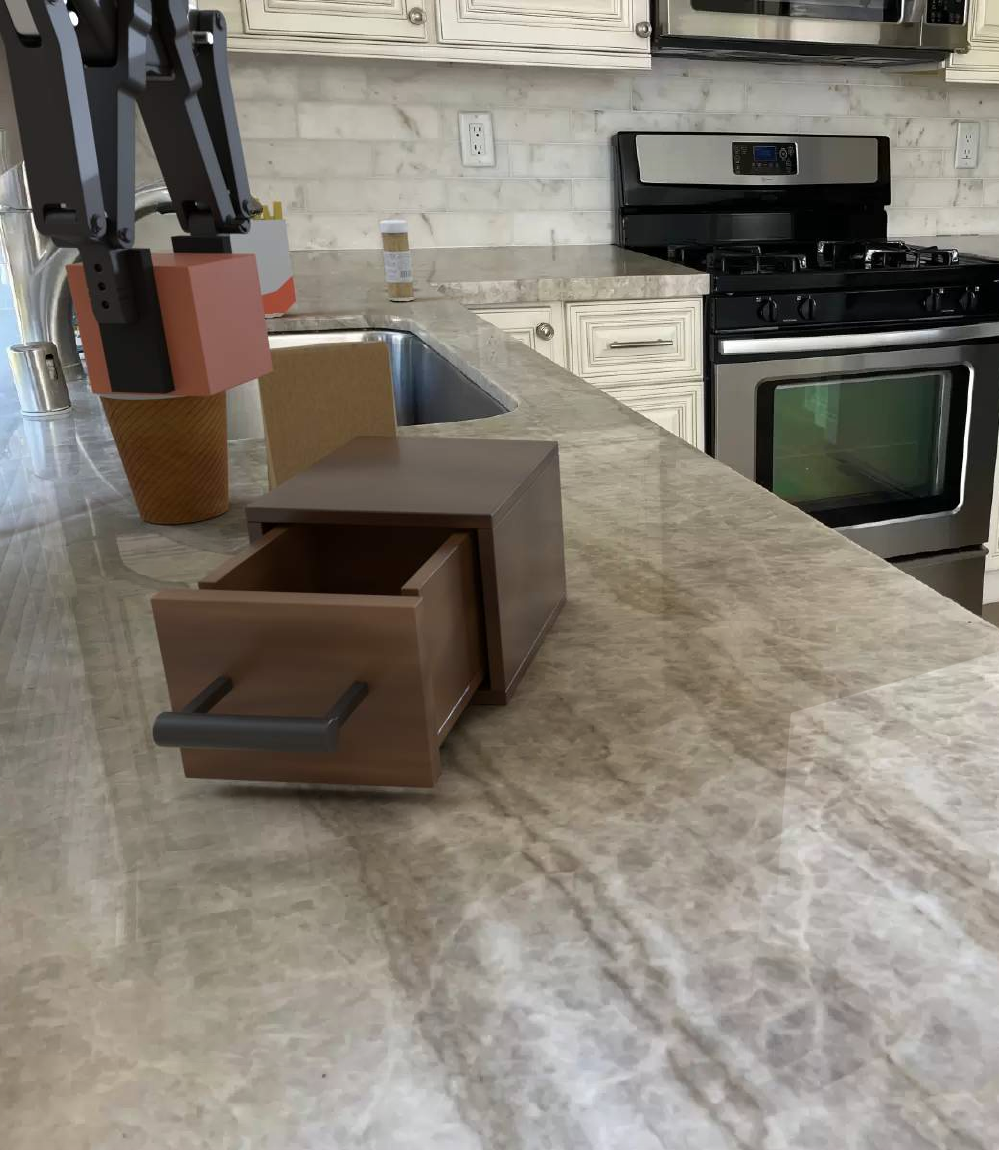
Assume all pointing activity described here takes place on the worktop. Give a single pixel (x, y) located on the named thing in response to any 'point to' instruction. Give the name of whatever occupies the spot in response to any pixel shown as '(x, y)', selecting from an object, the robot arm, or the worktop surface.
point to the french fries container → (269, 258)
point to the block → (193, 322)
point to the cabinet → (452, 523)
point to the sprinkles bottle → (397, 258)
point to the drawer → (325, 656)
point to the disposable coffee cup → (172, 453)
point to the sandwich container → (323, 402)
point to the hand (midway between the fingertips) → (184, 376)
